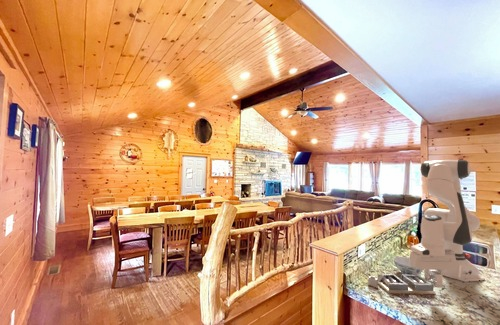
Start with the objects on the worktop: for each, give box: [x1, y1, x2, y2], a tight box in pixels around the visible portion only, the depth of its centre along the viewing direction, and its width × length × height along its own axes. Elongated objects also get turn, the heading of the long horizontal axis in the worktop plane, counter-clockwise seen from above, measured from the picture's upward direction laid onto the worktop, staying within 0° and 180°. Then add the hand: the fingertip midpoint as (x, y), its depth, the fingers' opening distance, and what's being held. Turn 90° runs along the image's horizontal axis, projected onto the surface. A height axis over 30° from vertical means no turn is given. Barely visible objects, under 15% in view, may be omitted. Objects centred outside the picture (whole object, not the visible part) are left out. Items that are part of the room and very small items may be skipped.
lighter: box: [368, 272, 384, 289], centre depth 114 cm, size 7×2×8 cm, turn 45°
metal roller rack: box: [377, 273, 437, 295], centre depth 114 cm, size 24×11×4 cm, turn 89°
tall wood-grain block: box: [423, 270, 444, 289], centre depth 103 cm, size 3×7×6 cm, turn 179°
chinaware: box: [393, 256, 424, 276], centre depth 129 cm, size 15×15×8 cm
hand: (433, 277), depth 103 cm, fingers closed on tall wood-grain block, 3 cm apart
